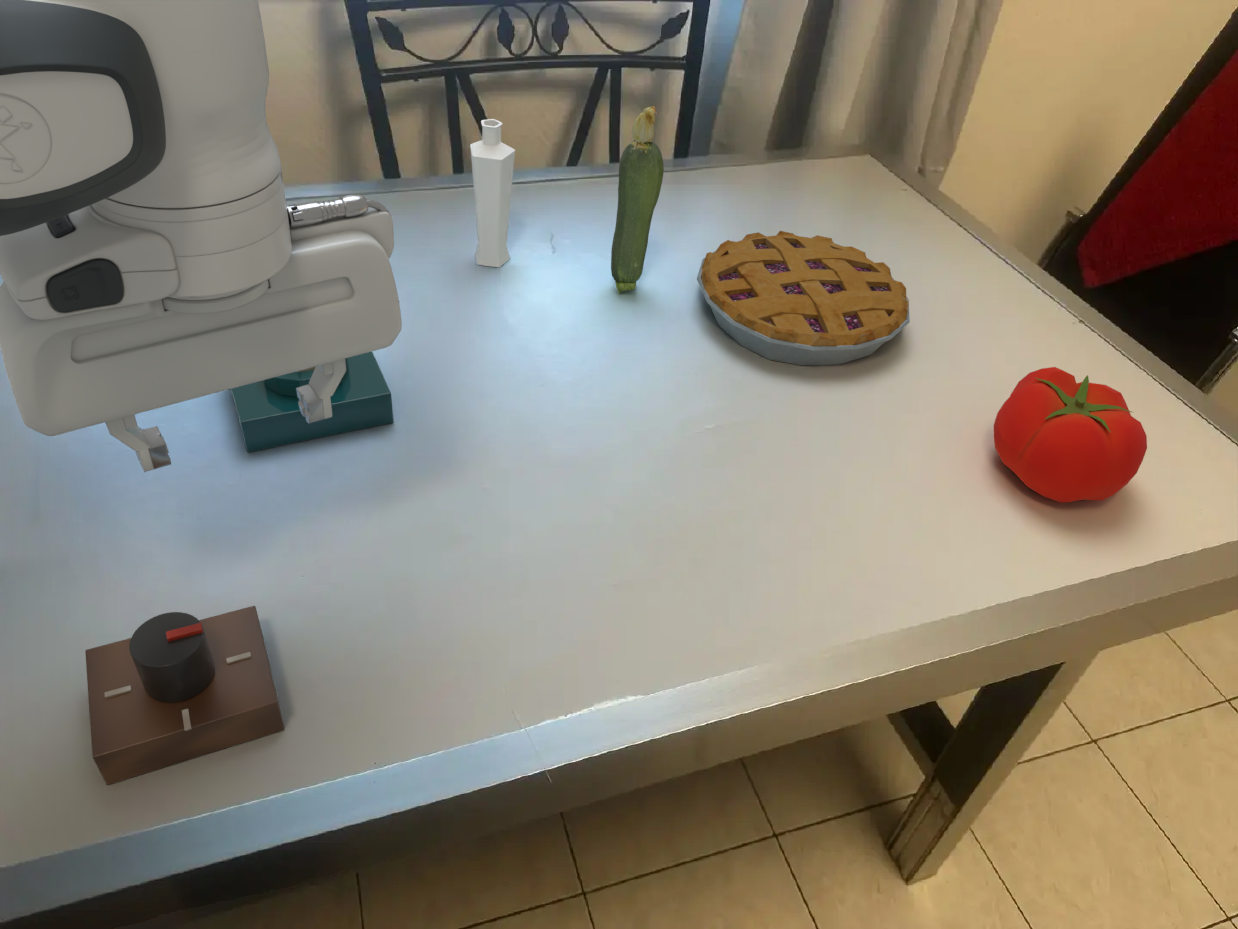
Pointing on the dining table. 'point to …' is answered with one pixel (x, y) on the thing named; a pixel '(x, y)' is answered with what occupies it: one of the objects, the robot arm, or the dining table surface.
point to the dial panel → (181, 702)
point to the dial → (172, 657)
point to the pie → (802, 298)
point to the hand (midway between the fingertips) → (238, 438)
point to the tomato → (1069, 437)
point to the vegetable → (636, 201)
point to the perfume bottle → (492, 193)
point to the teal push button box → (277, 416)
